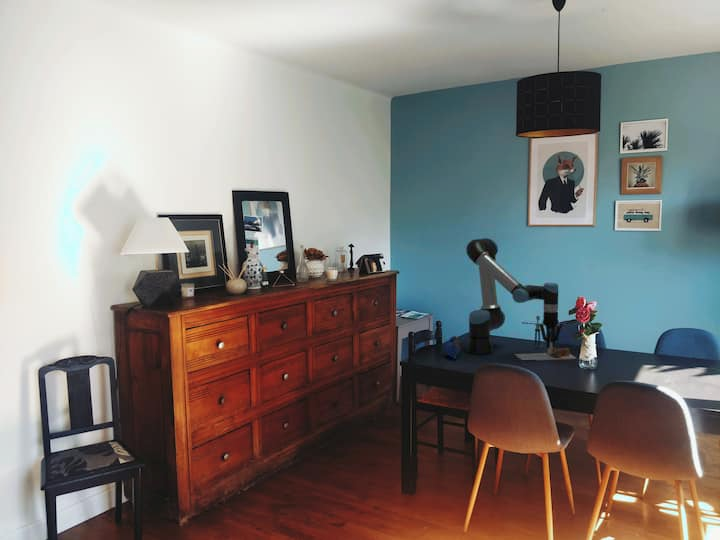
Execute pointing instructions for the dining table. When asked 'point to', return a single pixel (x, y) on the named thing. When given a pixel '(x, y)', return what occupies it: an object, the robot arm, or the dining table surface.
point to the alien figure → (536, 332)
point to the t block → (560, 352)
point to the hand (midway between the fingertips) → (550, 353)
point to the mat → (542, 357)
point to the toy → (452, 347)
